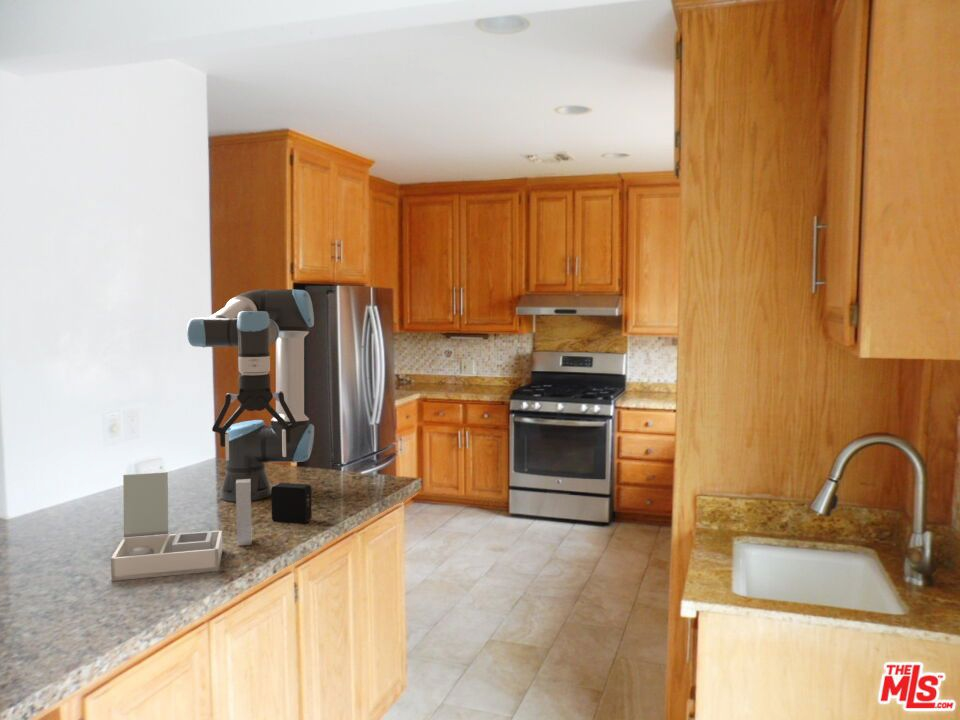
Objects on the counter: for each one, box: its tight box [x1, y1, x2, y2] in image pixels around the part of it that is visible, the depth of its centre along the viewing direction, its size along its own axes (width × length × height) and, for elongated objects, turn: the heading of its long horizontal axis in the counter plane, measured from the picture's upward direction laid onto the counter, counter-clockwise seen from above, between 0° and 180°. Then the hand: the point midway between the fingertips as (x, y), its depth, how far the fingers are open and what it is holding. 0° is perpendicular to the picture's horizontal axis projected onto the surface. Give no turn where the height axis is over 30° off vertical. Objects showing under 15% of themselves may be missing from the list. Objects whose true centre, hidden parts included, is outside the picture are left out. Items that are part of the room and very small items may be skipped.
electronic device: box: [270, 482, 312, 525], centre depth 198 cm, size 4×10×10 cm, turn 78°
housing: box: [110, 530, 224, 582], centre depth 165 cm, size 14×22×6 cm, turn 106°
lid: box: [122, 471, 169, 538], centre depth 170 cm, size 15×10×1 cm
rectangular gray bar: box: [235, 479, 253, 547], centre depth 179 cm, size 3×3×16 cm
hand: (256, 457), depth 178 cm, fingers open, 13 cm apart
